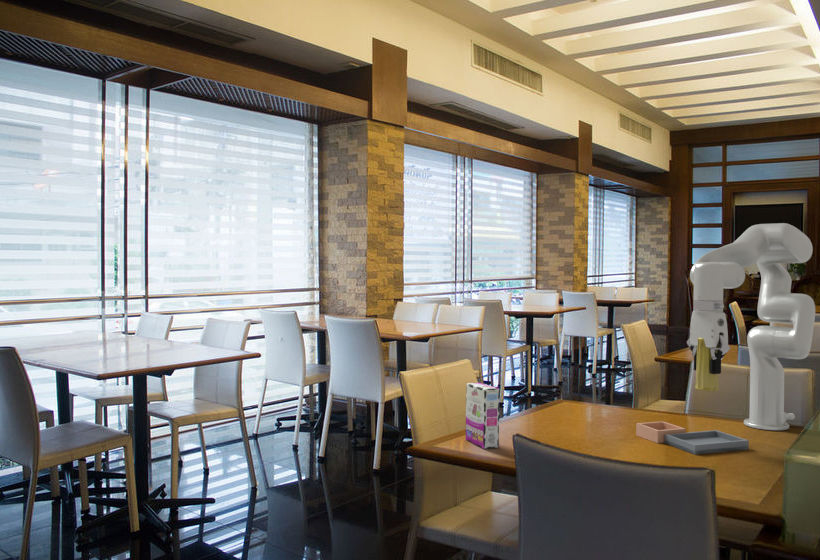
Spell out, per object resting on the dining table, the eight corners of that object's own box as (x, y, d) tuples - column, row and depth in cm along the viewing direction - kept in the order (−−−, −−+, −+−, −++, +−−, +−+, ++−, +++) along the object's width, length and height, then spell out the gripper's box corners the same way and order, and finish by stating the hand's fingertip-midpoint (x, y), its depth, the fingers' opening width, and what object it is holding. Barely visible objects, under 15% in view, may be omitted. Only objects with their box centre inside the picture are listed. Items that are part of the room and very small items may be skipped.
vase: (721, 391, 181) (722, 339, 181) (697, 390, 182) (698, 339, 182) (715, 387, 187) (716, 337, 187) (692, 386, 188) (693, 336, 188)
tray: (715, 438, 193) (716, 430, 193) (748, 449, 182) (748, 440, 182) (664, 443, 188) (664, 434, 188) (694, 454, 177) (694, 445, 176)
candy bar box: (500, 448, 182) (500, 388, 181) (484, 449, 180) (484, 389, 179) (480, 438, 192) (480, 381, 192) (464, 439, 190) (465, 382, 190)
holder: (663, 432, 200) (663, 421, 200) (685, 440, 191) (685, 428, 191) (636, 435, 197) (636, 423, 197) (657, 443, 188) (657, 431, 188)
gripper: (743, 308, 177) (742, 376, 178) (696, 305, 194) (695, 367, 194) (720, 309, 175) (719, 377, 175) (675, 305, 191) (674, 368, 192)
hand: (707, 371), depth 185 cm, fingers closed on vase, 5 cm apart
